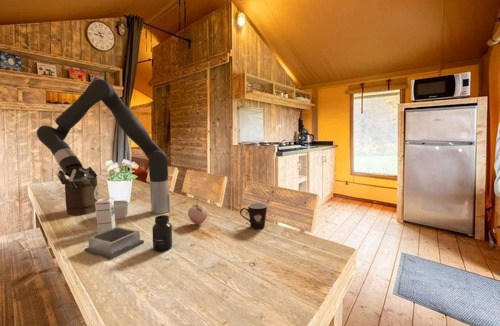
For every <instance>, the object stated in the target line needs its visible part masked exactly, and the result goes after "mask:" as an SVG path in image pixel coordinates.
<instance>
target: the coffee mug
mask: <svg viewBox="0 0 500 326" xmlns="http://www.w3.org/2000/svg"><path fill="white" fill-rule="evenodd" d="M267 209H268V205H267V204H266V203H262V202H253V203H248V205H247V207H244V208H241V209H240V210H239V215H240V216H241V217H243V218H244V219H245V220H247V222H249V225H250V228H251V229H252V228H253V230H263V229H264V228H265V224H266V217H267ZM243 210H246V211H247V213H248V215H249V217H248V218H247V217H245V215H243V214H242V211H243Z"/></svg>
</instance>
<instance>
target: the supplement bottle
mask: <svg viewBox="0 0 500 326" xmlns="http://www.w3.org/2000/svg"><path fill="white" fill-rule="evenodd" d="M151 231H152V250H154V251H155V252H157V253H162V252H163V253H164V252H167V251H169V250H170V249H172V247H173V225H172V224H171V222H170V217H169V215H167V214H159V215H157V216H155V217H154V224H153V225H152V230H151Z"/></svg>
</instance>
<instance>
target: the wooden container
mask: <svg viewBox="0 0 500 326" xmlns="http://www.w3.org/2000/svg"><path fill="white" fill-rule="evenodd" d="M89 178H90V177H89ZM66 179H67V180H68V179H69V178H66ZM95 181H96V182H97V183H98V176H97V177H96V178H95ZM72 182H74V183H75V185H76V186H77V190H76V191H73V190H72V189H71V188H70V186H69V185H67V184H64V191H65V192H64V193H65V197H64V198H65V208H66V209H65V210H66V211H65V212H66V214H67V215H68V216H83V215H89V214H93V213H96V208H95V202H97V201H98V200H99V199H100V198H99V192H98V184H97V185H96V187H93V186H92V184H91V183H90V181H89V180H87V179H83V178H81V179H73V181H72Z"/></svg>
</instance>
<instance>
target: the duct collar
mask: <svg viewBox="0 0 500 326" xmlns="http://www.w3.org/2000/svg"><path fill="white" fill-rule="evenodd" d="M87 240H88V241H87V243H88V247H86V248H84V252H85V253H89V254H92V255H95V256H98V257H101V258H104V259H107V260H114V259H115V258H117V257H119V256H121V255H123V254H126V253H127V252H129V251H131V250H133V249H135V248H137V247H139V246H141V245H143V244H144V243H145V240H143V239H141V237H140V230H136V229H131V228H127V227H122V226H116V227H115V228H112V229H110V230H107V231H105V232H102V233H99V234H98V233H97V234H95V235H92V236H90V237H88V239H87Z"/></svg>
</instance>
